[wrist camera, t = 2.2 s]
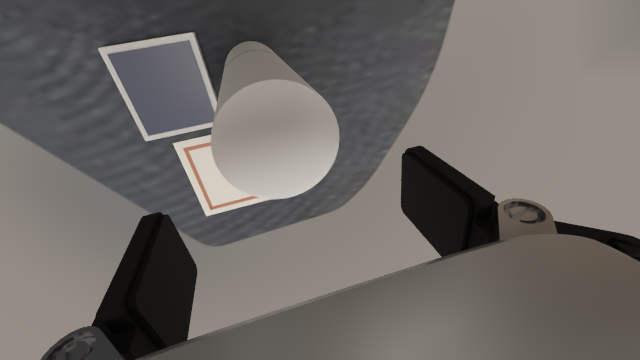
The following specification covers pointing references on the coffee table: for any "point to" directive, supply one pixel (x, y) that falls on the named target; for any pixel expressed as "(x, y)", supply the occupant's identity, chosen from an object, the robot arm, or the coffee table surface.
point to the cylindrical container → (270, 126)
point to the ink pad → (163, 84)
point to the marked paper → (210, 178)
